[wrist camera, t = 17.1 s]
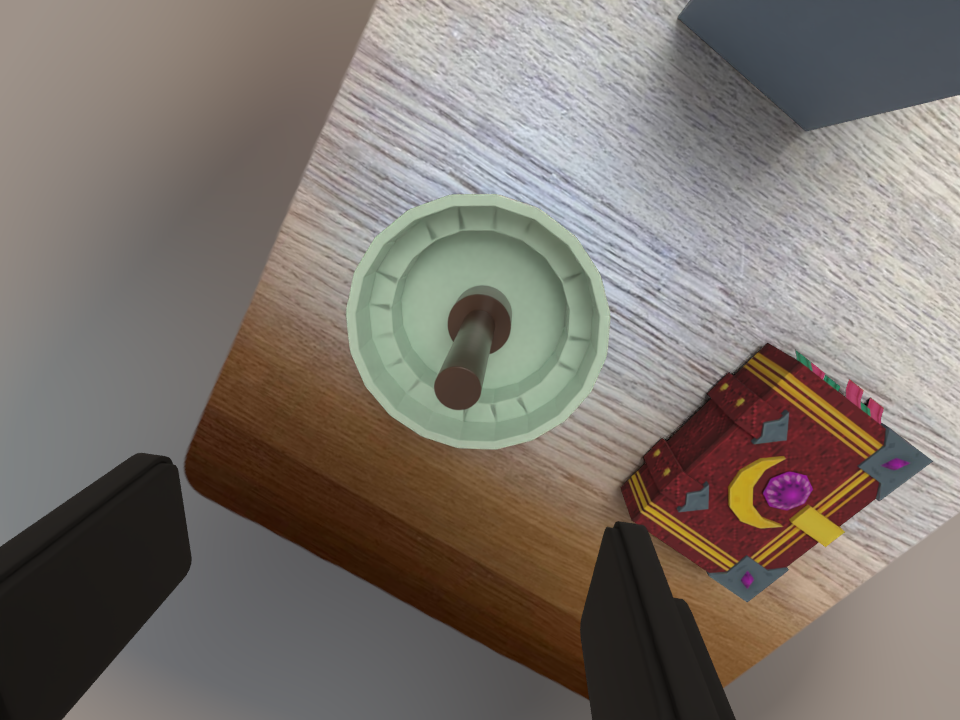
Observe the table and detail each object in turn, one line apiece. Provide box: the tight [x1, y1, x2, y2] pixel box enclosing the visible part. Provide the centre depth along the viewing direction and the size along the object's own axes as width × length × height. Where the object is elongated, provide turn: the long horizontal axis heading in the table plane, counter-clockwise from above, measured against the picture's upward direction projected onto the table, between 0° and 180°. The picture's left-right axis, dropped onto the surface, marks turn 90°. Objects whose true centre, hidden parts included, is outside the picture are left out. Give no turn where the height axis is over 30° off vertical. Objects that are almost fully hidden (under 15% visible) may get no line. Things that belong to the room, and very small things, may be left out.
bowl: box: [346, 194, 611, 450], centre depth 29 cm, size 15×15×6 cm
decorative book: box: [621, 343, 933, 602], centre depth 31 cm, size 11×16×5 cm
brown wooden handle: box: [434, 285, 512, 410], centre depth 25 cm, size 4×4×13 cm
